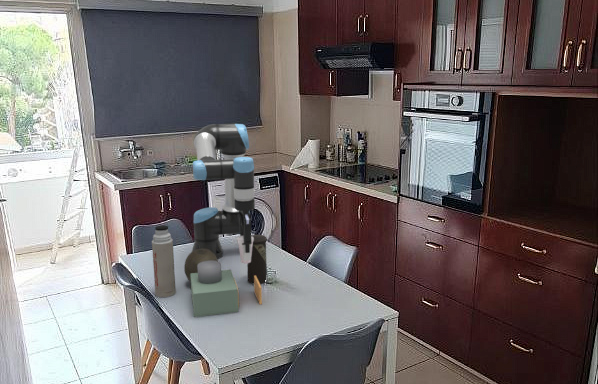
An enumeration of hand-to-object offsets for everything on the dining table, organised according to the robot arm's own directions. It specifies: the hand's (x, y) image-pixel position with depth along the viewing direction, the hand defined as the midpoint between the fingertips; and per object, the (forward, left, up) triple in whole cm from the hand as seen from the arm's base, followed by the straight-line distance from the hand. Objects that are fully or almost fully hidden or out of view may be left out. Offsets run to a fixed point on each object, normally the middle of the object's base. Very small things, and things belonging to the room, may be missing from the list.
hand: (245, 257), depth 189 cm
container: (-17, +7, -18) cm, 26 cm away
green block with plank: (0, -8, -17) cm, 19 cm away
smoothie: (0, 0, -2) cm, 2 cm away
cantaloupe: (-20, -16, -18) cm, 31 cm away
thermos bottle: (-14, -31, -18) cm, 38 cm away
